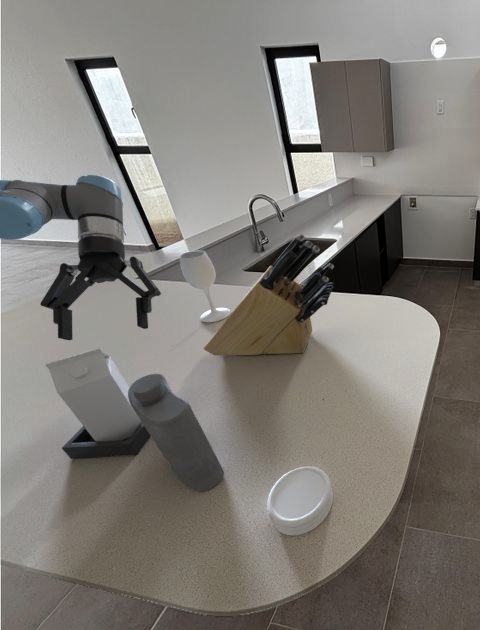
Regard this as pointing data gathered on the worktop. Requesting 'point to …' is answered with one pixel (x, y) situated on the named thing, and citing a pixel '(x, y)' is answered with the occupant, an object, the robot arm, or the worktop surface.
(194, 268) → the wineglass
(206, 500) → the worktop surface
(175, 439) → the flask
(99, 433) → the milk carton
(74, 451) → the tray
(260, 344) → the knife block
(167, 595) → the worktop surface
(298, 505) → the coaster
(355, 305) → the worktop surface
